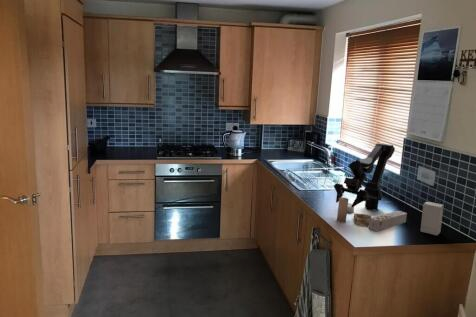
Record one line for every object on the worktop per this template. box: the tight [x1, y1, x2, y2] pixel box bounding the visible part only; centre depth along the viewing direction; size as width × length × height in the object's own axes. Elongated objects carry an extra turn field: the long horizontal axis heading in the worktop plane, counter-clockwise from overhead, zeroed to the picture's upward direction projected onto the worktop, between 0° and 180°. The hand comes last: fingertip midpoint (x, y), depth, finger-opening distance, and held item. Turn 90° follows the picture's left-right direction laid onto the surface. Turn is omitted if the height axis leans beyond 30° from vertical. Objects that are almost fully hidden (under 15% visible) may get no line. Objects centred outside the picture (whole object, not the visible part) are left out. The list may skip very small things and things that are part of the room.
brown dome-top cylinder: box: [336, 196, 349, 223], centre depth 213 cm, size 5×5×12 cm
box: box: [368, 210, 408, 232], centre depth 211 cm, size 27×5×6 cm, turn 129°
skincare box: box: [420, 201, 444, 236], centre depth 204 cm, size 8×6×15 cm
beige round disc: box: [347, 202, 355, 214], centre depth 231 cm, size 8×8×4 cm
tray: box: [353, 212, 373, 226], centre depth 214 cm, size 9×9×3 cm
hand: (344, 204), depth 213 cm, fingers open, 9 cm apart
